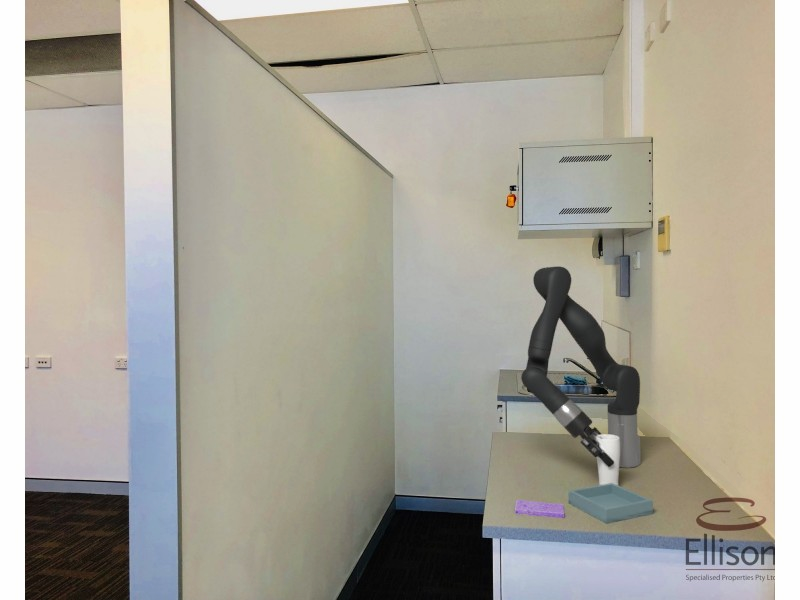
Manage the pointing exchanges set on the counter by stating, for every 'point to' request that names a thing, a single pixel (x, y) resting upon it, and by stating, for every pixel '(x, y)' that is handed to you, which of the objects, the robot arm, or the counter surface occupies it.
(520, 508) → the sponges
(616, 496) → the tray
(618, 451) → the white paper cup
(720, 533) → the counter surface
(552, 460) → the counter surface
